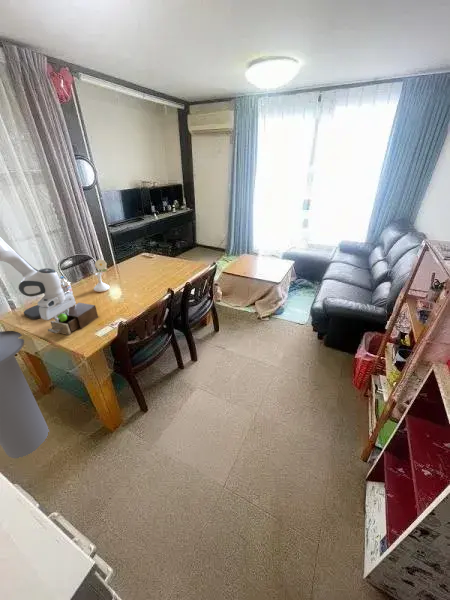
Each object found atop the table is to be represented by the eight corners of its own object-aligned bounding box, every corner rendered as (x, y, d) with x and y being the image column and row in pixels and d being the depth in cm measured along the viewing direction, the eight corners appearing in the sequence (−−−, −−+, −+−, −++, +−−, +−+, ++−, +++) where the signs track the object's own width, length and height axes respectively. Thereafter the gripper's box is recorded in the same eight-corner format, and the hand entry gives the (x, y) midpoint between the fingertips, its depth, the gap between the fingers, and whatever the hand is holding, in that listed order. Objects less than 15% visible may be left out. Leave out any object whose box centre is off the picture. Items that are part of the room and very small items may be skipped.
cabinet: (81, 329, 152) (77, 316, 148) (64, 325, 155) (60, 313, 151) (98, 317, 165) (95, 305, 161) (82, 313, 168) (78, 302, 164)
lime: (63, 324, 144) (60, 316, 142) (56, 322, 146) (54, 315, 143) (70, 319, 148) (67, 312, 146) (63, 318, 150) (61, 311, 147)
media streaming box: (34, 321, 159) (33, 316, 158) (22, 314, 165) (20, 310, 164) (58, 310, 171) (56, 307, 169) (45, 305, 177) (44, 301, 175)
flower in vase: (92, 293, 194) (84, 262, 182) (96, 287, 204) (88, 257, 192) (110, 292, 197) (104, 261, 185) (113, 286, 206) (107, 256, 195)
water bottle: (74, 307, 175) (64, 273, 163) (80, 310, 171) (70, 276, 160) (64, 311, 170) (53, 277, 158) (69, 315, 166) (58, 279, 155)
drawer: (62, 340, 141) (58, 329, 138) (46, 336, 144) (42, 326, 141) (86, 322, 157) (84, 313, 154) (71, 319, 160) (69, 310, 157)
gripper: (66, 288, 149) (72, 309, 156) (34, 304, 132) (42, 326, 138) (75, 290, 148) (80, 310, 154) (43, 306, 130) (51, 328, 137)
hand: (62, 318), depth 146 cm, fingers closed on lime, 5 cm apart
